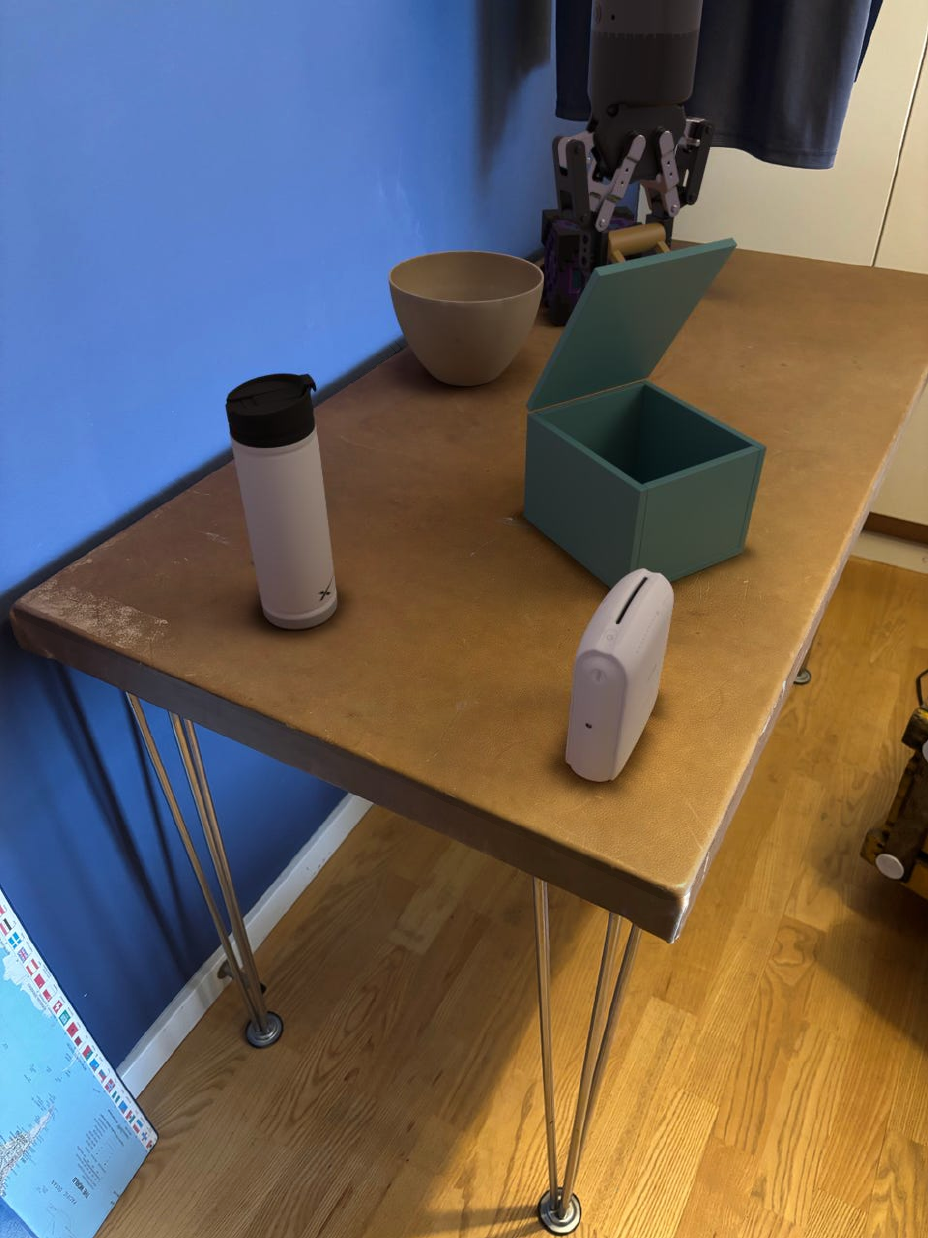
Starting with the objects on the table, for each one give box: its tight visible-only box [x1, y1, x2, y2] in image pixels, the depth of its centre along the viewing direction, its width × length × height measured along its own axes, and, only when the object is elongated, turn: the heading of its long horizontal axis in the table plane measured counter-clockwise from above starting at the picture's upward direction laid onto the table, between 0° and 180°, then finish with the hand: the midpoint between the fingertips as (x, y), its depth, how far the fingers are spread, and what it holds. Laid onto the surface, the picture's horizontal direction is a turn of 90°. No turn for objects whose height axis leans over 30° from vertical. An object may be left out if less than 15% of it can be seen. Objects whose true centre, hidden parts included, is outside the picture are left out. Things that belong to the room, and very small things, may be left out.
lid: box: [525, 222, 738, 413], centre depth 77 cm, size 16×14×5 cm
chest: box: [522, 379, 768, 590], centre depth 82 cm, size 16×14×11 cm
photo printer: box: [565, 569, 675, 783], centre depth 61 cm, size 10×4×12 cm, turn 152°
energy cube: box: [539, 205, 645, 327], centre depth 126 cm, size 12×12×12 cm
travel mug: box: [224, 372, 339, 630], centre depth 71 cm, size 6×7×20 cm
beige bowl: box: [388, 250, 544, 387], centre depth 110 cm, size 18×18×12 cm
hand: (624, 269), depth 74 cm, fingers closed on lid, 5 cm apart
